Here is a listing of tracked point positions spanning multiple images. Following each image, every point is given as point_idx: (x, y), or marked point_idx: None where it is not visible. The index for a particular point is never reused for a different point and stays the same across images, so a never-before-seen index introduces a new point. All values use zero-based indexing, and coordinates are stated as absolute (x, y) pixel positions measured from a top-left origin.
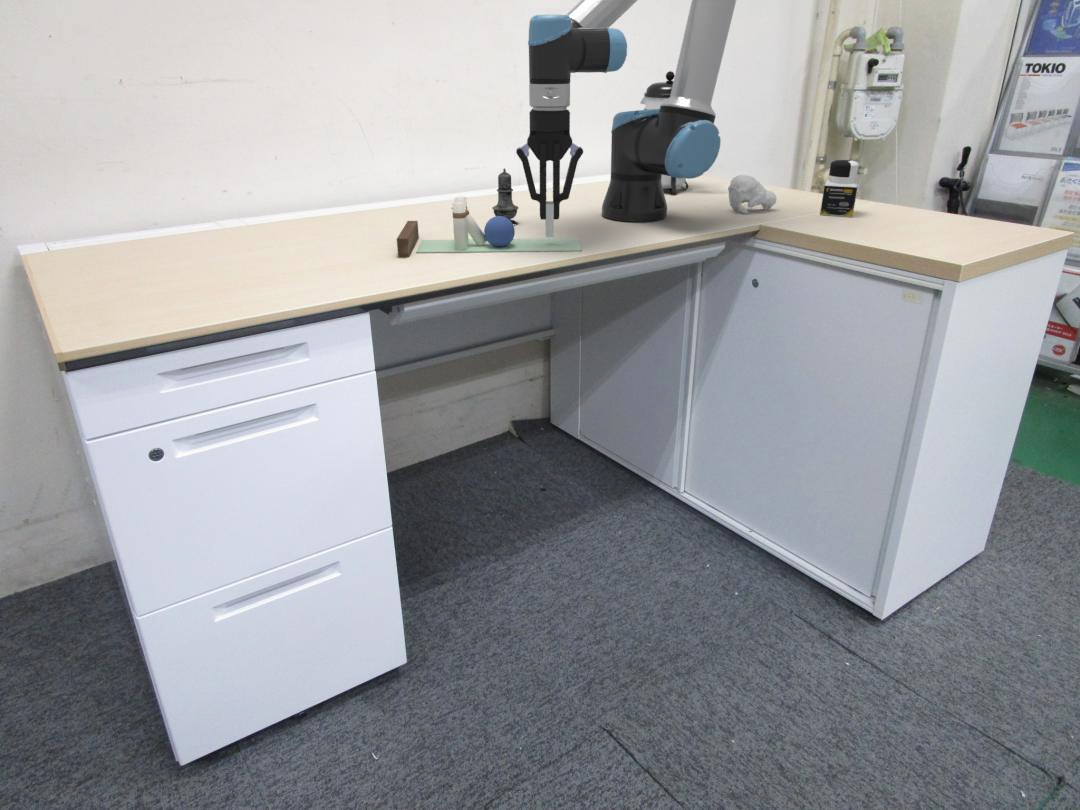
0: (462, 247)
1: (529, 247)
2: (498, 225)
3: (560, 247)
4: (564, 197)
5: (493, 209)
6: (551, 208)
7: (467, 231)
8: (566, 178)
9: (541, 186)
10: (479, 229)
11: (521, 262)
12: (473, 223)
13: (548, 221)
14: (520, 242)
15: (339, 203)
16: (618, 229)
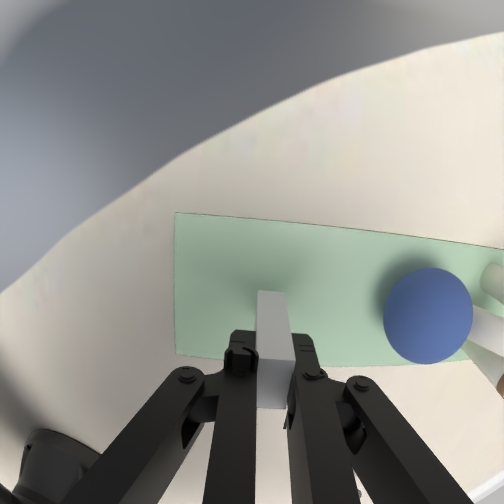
0: (494, 265)
1: (336, 269)
2: (455, 291)
3: (238, 255)
4: (195, 374)
5: (360, 492)
6: (267, 346)
7: (476, 347)
8: (164, 464)
9: (332, 425)
10: (474, 321)
11: (380, 107)
12: (496, 324)
13: (278, 317)
14: (349, 330)
15: (479, 499)
16: (87, 407)
